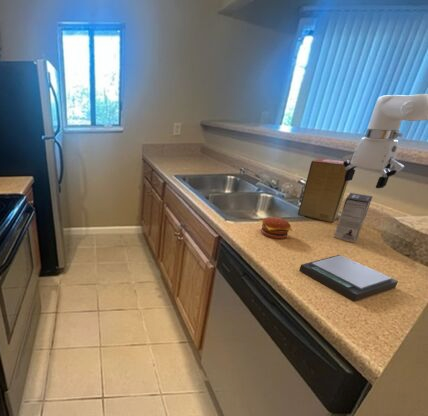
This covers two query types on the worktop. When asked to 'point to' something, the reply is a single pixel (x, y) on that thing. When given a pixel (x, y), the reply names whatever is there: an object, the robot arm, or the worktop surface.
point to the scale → (348, 277)
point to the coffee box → (352, 216)
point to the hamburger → (275, 227)
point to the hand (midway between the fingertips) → (363, 183)
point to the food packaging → (324, 190)
